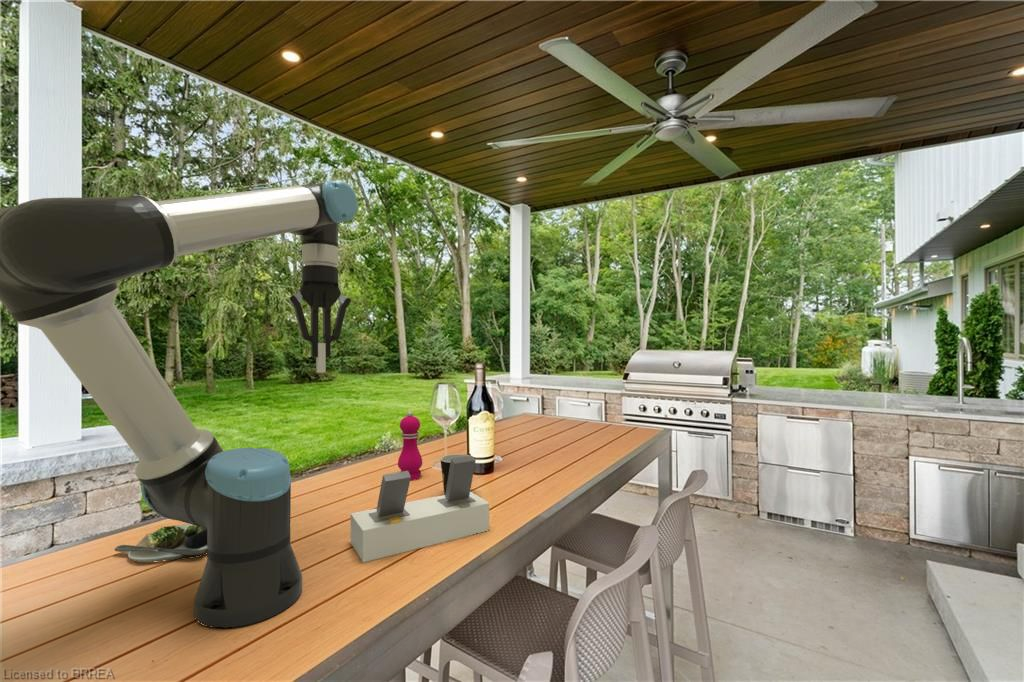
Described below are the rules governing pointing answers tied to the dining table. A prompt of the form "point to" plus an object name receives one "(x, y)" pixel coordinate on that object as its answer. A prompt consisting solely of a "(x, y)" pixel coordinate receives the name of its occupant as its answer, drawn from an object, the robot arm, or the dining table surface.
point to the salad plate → (168, 544)
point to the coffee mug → (448, 467)
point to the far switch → (460, 478)
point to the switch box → (417, 525)
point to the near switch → (393, 493)
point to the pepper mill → (410, 446)
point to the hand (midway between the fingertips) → (321, 372)
